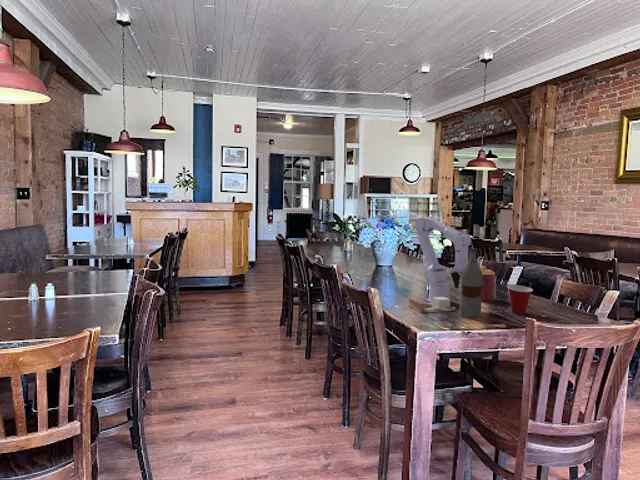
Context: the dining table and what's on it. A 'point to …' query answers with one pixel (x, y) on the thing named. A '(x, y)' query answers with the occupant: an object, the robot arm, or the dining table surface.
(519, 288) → the plastic cup
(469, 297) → the bottle
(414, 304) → the keeper channel
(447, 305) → the keeper block
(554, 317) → the dining table surface
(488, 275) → the canister
